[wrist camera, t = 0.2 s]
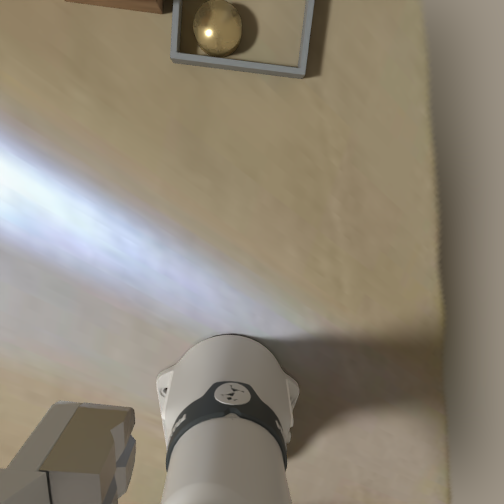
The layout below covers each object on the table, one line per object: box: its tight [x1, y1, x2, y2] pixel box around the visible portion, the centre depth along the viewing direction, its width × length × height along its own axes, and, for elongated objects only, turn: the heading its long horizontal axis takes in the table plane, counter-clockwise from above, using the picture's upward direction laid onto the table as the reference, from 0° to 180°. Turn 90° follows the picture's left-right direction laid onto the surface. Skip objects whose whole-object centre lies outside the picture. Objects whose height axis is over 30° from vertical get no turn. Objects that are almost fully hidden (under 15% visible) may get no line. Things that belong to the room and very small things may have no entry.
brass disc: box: [193, 0, 242, 58], centre depth 40 cm, size 5×5×2 cm
